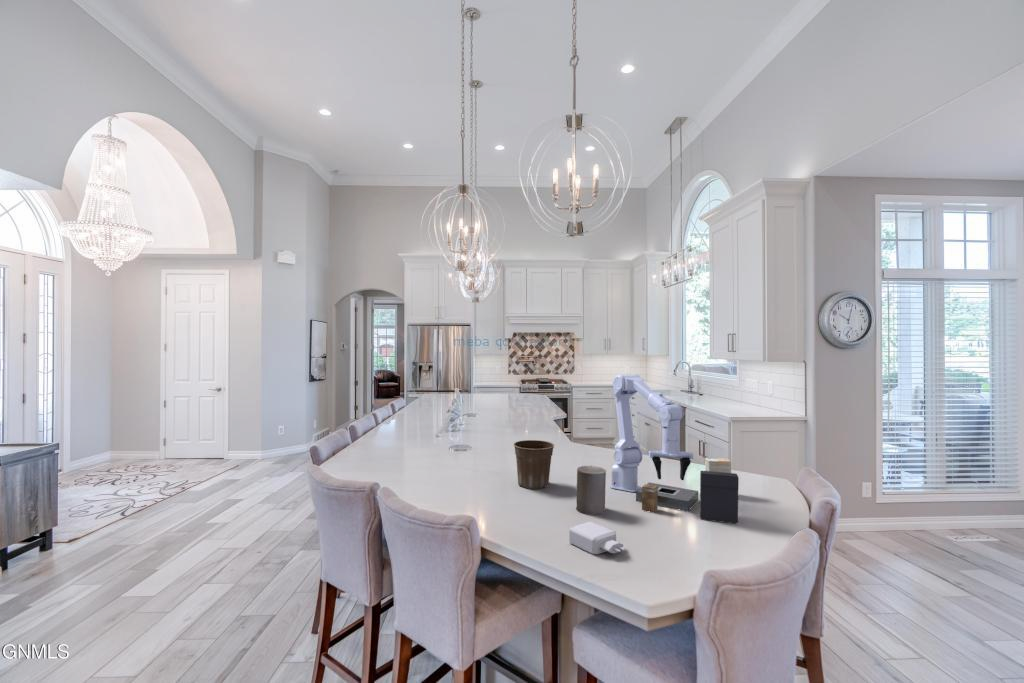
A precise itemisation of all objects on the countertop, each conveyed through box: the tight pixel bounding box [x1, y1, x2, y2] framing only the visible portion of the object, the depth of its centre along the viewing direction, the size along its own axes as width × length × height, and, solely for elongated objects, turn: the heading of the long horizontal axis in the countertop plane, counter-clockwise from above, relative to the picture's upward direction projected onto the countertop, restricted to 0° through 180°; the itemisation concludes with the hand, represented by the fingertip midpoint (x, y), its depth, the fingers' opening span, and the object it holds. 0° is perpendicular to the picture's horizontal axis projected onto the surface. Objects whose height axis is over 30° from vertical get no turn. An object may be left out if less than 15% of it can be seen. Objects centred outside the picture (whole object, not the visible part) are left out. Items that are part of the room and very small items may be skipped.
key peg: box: [641, 483, 658, 513], centre depth 161 cm, size 4×4×8 cm
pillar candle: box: [575, 465, 607, 516], centre depth 160 cm, size 10×10×15 cm
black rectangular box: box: [699, 470, 740, 524], centre depth 152 cm, size 11×4×15 cm, turn 71°
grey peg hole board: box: [635, 482, 699, 512], centre depth 170 cm, size 18×14×4 cm
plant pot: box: [513, 439, 555, 490], centre depth 189 cm, size 16×16×16 cm
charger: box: [568, 521, 626, 555], centre depth 129 cm, size 5×9×15 cm
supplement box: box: [704, 457, 732, 473], centre depth 180 cm, size 8×5×13 cm, turn 84°
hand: (670, 479), depth 164 cm, fingers open, 7 cm apart
